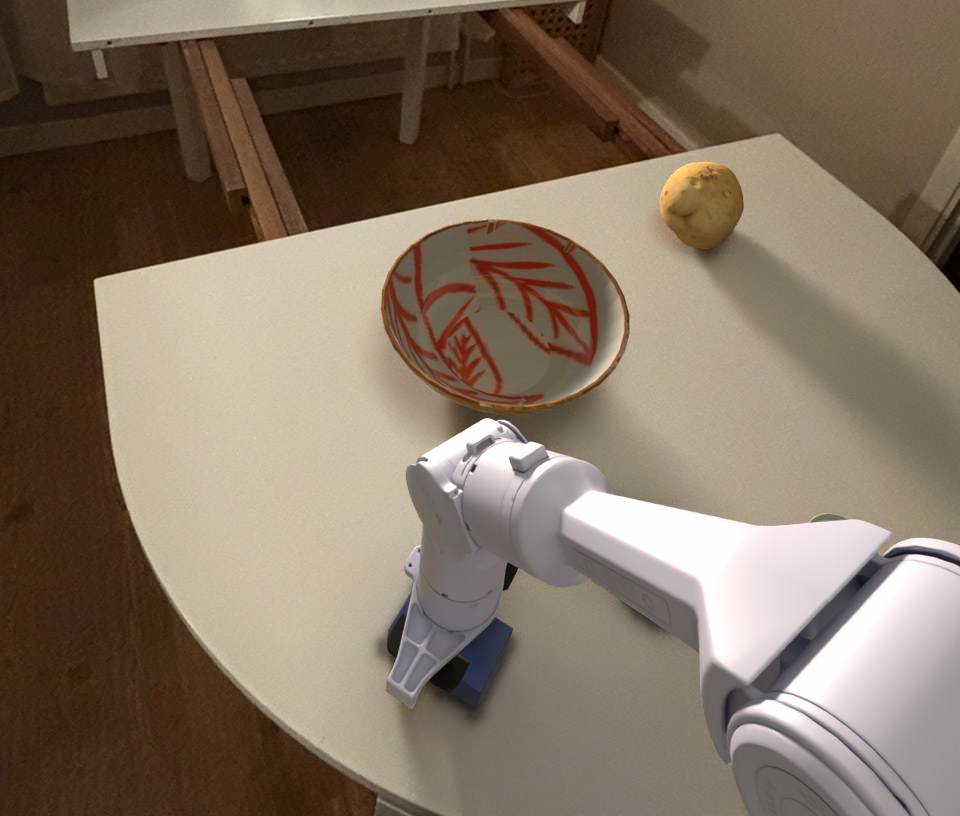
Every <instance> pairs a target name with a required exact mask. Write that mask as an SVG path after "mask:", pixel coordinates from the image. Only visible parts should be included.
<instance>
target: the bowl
mask: <svg viewBox="0 0 960 816" xmlns="http://www.w3.org/2000/svg"><path fill="white" fill-rule="evenodd" d="M380 301H381V303H380V312H381V317H382V323H383V327H384V330H385V333H386V335H387V337H388V339H389V342H390V343H391V345H392V347H393V349H394V351H395V352H396V353H397V355H398V356H399V357H400V358H401V359H402V361H403V362H404V363H405V364H406V366H407V367H408V368H409V370H410V371H411V372H412V373H413V374H414V375H415V376H417V377H418V378H419V379H420V380H421V381H423V382H424V383H425V384H426V385H427V386H428V387H429V388H431V389H432V390H433V391H434V392H436V393H438V394H439V395H441V396H443V397H444V398H446V399H448V400H450V401H451V402H453V403H456V404H458V405H461V406H463V407H466V408H470V409H472V410H474V411H479V412H484V413H488V414H489V413H490V414H496V415H500V416H507V415H508V416H510V415H511V416H513V415H514V416H525V415H530V414H531V415H532V414H538V413H542V412H543V413H544V412H548V411H551V410H553V409H556V408H558V407H561V406H563V405H567V404H569V403H572V402H574V401H576V400H578V399H580V398H581V397H583V396H584V395H586V394H588V393H589V392H591V391H592V390H594V389H595V388H597V387H599V386H600V385H601V384H602V383H604V381H606V379H608V377H610V375H611V374H612V373H613V372H614V371H615V370H616V369H617V367H618V365H619V363H620V361H621V360H622V358H623V357H624V355H625V353H626V349H627V345H628V342H629V338H630V334H631V333H630V331H631V330H630V328H631V327H630V311H629V308H628V304H627V299H626V297H625V295H624V293H623V291H622V289H621V286H620V285H619V283H618V281H617V279H616V278H615V276H614V275H613V274H612V273H611V271H610V270H609V269H608V268H607V266H606V265H605V264H604V263H603V262H602V261H601V260H600V259H599V258H597V256H595V255H594V254H593V253H592V252H591V251H590V250H589V249H587V248H586V247H584V246H582V245H581V244H580V243H578V242H576V241H575V240H573V239H571V238H570V237H568V236H565V235H563V234H561V233H559V232H557V231H555V230H553V229H550V228H547V227H543V226H541V225H538V224H533V223H530V222H525V221H519V220H514V219H513V220H512V219H502V218H501V219H500V218H484V219H483V218H482V219H473V220H464V221H460V222H456V223H453V224H448V225H444V226H443V227H441V228H437V229H435V230H433V231H431V232H429V233H426V234H425V235H424V236H422V237H420V238H419V239H418V240H416V241H414V242H413V243H411V244H409V246H408V247H407V248H406V249H405V250H404V251H403V252H401V254H400V255H399V256H398V257H397V258H396V260H395V262H394V263H393V265H392V266H391V268H390V269H389V271H388V272H387V274H386V277H385V280H384V283H383V287H382V290H381V300H380Z"/></svg>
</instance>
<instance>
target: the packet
mask: <svg viewBox="0 0 960 816" xmlns="http://www.w3.org/2000/svg"><path fill="white" fill-rule="evenodd" d="M411 594H412V591H410V593H409V595H408V597H407V598H406V600H405V601H404V603H403V605H402V606H401V608H400V610H399V611H398V612H397V614H396V616H395V618H394V619H393V621H392V623H391V624H390V625H389V628H388V629H387V636H388V635H389V632H390V631H391V629H392V627H393V626H394V624H395V623H396V621H397V619H398V618H399V616H400V614H401V613H404V614H405V615H407V612H408V608H409V603H410V599H411ZM513 631H514V628H513V627H512V626H510V625H508V624H507V623H505V621H502V620H501V619H500V618H498V617H496V616H495V618H494V619H493V621H492V622H491V623H490V624H489V625H488V626H487V627H486V628H485V629H484V630H483V631H482V632H481V633H480V634H479V635H478V636H477V637H475V638H474V639H473V640H472V641H471V642H470V643H469V644H468V645H467V646H465V647H464V648H463V649H462V650H461V651H460V652H459V654H460V655H462V656H463V657H465V658H466V659H468V660H469V661H470V664H469V666H468V668H467V670H466V672H465V674H464V676H463V678H462V680H461V682H460V683H459V685H458V686H457V688H456V689H455V690H454V691H453V692H451V693H450V694H453V696H455V697H457V698H458V699H459V700H461V701H463V702H464V703H465V704H467V705H468V706H470V707H471V708H472V709H474V710H476V711H478V709H479V707H480V705H481V703H482V701H483V699H484V697H485V695H486V693H487V691H488V689H489V687H490V685H491V683H492V681H493V679H494V676H495V675H496V672H497V670H498V668H499V666H500V664H501V662H502V661H503V658H504V656H505V654H506V652H507V650H508V648H509V645H510V642H511V638H512V635H513Z"/></svg>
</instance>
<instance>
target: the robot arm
mask: <svg viewBox="0 0 960 816" xmlns="http://www.w3.org/2000/svg"><path fill="white" fill-rule="evenodd" d="M405 481H406V487H407V490H408V493H409V497H410V499H411V502H412V505H413V508H414V509H415V512H416V514H417V516H418V518H419V520H420V521H421V523H422V527H421V536H420V544H419V545H416V546H415V547H414V548H413V549H412V551H411V553H410V555H409V556H408V558H407V559H406V561H405V563H404V567H403V569H404V573H405V575H406V576H407V577H409V578H410V579H412V582H413V586H412V590H411V592H412V594H411V599H410V603H409V608H408V612H407V615H405V614H404V613H401V614H400V616H399V618H398V619H397V621H396V623H395V624H394V626H393V627H392V629H391V631H390V632H389V635H388V634H387V639H386V650H387V652H388V653H389V654H390V655H391V656H392V657H394V658H395V662H394V664H393V667H392V669H391V671H390V672H389V675H388V676H387V678H386V687H385V688H386V689H385V691H386V692H387V693H388V694H389V695H391V696H392V697H394V698H395V699H396V700H398V701H399V702H400V703H402V704H403V705H404V706H406V707H407V708H409V709H410V710H412V709H413V708H414V706H415V705H416V703H417V701H418V699H419V698H420V693H421V690H422V689H423V688H424V686H425V685H426V684H427V683H428V682H429V683H431V684H432V685H433V686H435V687H436V688H438V689H440V690H441V691H444V692H445V693H448V694H452V693H451V692H453V691H454V690H455V689H456V688H457V686H458V685H459V683H460V682H461V680H462V678H463V676H464V674H465V672H466V670H467V668H468V666H469V664H470V661H469V660H468V659H466V658H465V657H463V656H462V655H460V654H459V652H460V651H461V650H462V649H463V648H464V647H465V646H467V645H468V644H469V643H470V642H471V641H472V640H473V639H474V638H475V637H477V636H478V635H479V634H480V633H481V632H482V631H483V630H484V629H485V628H486V627H487V626H488V625H489V624H490V623H491V622H492V621H493V619H494V618H495V617H496V616H497V614H498V612H499V609H500V606H501V601H502V598H503V592H504V591H508V590H509V588H510V587H511V585H512V582H513V581H514V579H515V577H516V576H517V573H518V571H519V569H520V570H521V571H522V572H524V573H526V574H528V575H530V576H532V577H533V578H535V579H537V580H539V581H541V582H543V583H544V584H546V585H548V586H552V587H556V588H570V587H574V586H577V585H579V584H582V583H584V582H585V581H587V580H590V581H591V582H593V583H595V584H596V585H597V586H599V587H600V588H602V589H603V590H605V591H607V592H608V593H610V594H611V595H612V596H613V597H615V598H618V600H620V601H621V602H623V603H625V605H627V606H629V607H631V608H632V609H633V610H635V611H636V612H638V613H639V614H640V615H642V616H644V617H645V618H647V619H648V620H650V621H651V622H652V623H654V624H656V625H657V626H659V627H660V628H662V629H663V630H665V631H666V632H667V633H669V634H671V636H674V637H675V638H677V639H678V640H679V641H681V642H683V643H684V644H685V645H687V646H688V647H690V648H691V649H693V650H694V651H695V652H697V653H698V656H699V661H698V662H699V690H700V700H701V701H700V702H701V707H702V710H703V711H702V712H703V715H704V719H705V724H706V726H707V729H708V733H709V736H710V739H711V741H712V744H713V747H714V749H715V752H716V754H717V755H718V756H719V759H721V761H722V762H723V763H724V764H725V765H726V766H730V765H731V768H732V774H733V779H734V782H735V785H736V788H737V791H738V794H739V797H740V799H741V801H742V803H743V805H744V808H745V809H746V811H747V813H748V816H960V545H959V544H956V543H954V542H950V541H946V540H943V539H938V538H930V537H911V538H908V539H904V540H901V541H899V542H896V543H895V544H893V545H891V547H890V548H889V549H887V550H886V551H885V553H884V554H882V555H880V554H879V552H880V550H881V549H882V548H883V547H884V546H885V545H886V544H887V543H888V542H889V541H890V540H891V539H892V538H893V536H894V535H895V532H893V531H890V530H888V529H886V528H883V527H881V526H878V525H875V524H873V523H871V522H868V521H866V520H862V519H856V518H854V519H853V518H851V519H850V520H839V521H827V522H815V523H809V522H805V523H794V524H792V523H791V524H781V525H756V524H752V523H747V522H743V521H738V520H732V519H728V518H724V517H720V516H719V517H718V516H714V515H709V514H705V513H700V512H696V511H691V510H687V509H683V508H677V507H672V506H667V505H663V504H659V503H655V502H649V501H644V500H639V499H635V498H631V497H626V496H622V495H621V496H620V495H616V494H614V491H613V489H612V486H611V484H610V482H609V481H608V479H607V478H606V476H605V474H603V472H601V470H600V469H599V468H597V467H596V466H595V465H594V464H592V463H591V462H588V461H586V460H582V459H580V458H576V457H572V456H570V455H566V454H562V453H558V452H555V451H552V450H548V449H547V447H546V446H545V444H542V443H538V442H534V441H530V442H529V441H528V439H526V437H525V435H523V434H522V432H521V431H520V430H519V429H518V428H517V426H515V425H513V424H512V423H511V422H510V421H507V420H505V419H498V420H494V419H493V418H488V417H486V418H483V419H481V420H479V421H478V422H476V423H475V424H473V425H471V426H469V427H468V428H466V429H464V430H463V431H461V432H459V433H458V434H456V435H454V436H452V437H451V438H449V439H448V440H446V441H444V442H442V443H441V444H439V445H437V446H436V447H434V448H432V449H430V450H429V451H428V452H426V453H424V454H422V455H421V456H419V457H418V458H417V459H416V462H415V464H414V463H410V464H409V465H407V467H406V469H405ZM877 552H878V554H877Z"/></svg>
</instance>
